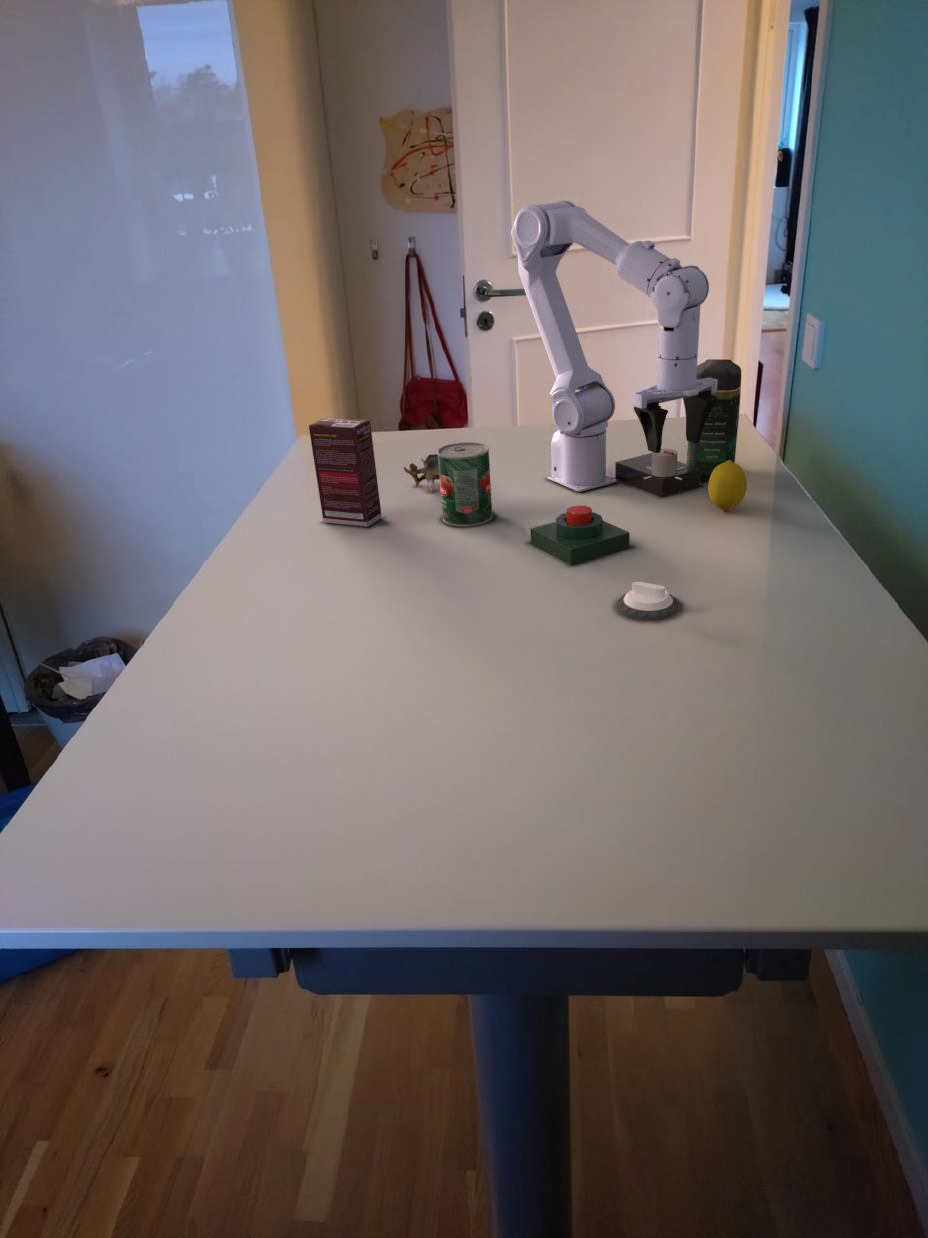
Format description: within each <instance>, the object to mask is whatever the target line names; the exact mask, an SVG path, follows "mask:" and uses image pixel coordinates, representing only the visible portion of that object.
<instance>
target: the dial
mask: <svg viewBox="0 0 928 1238" xmlns="http://www.w3.org/2000/svg"><path fill="white" fill-rule="evenodd" d="M651 453H652V470H651V473H652V475H654V476H657V477H671V476H674V475H676V474H677V461H678V455H679V452H678V450H676V449H674V448H673V449H672V448H661V450H660V452H659V453H654V452H651Z"/></svg>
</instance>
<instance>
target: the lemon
mask: <svg viewBox="0 0 928 1238" xmlns="http://www.w3.org/2000/svg"><path fill="white" fill-rule="evenodd" d="M747 488H748V480H747V475H746V472H745V470H744V469H743V468H742V466H741V465H740V464H738V463H733V462H732V461H731V460H727V461H726V462H725V463H722V464H720V465H718V466H717V467H716V468H715V469H714V470H713V472H712V474H711V476H710V479H709V480H708V485H707V490H708V492H707V493H708V496H709V500H710V501H711V503H712V504H713V505H715V506H716V507H717V508H719V509H720V510H722V511H723V512H725V513H726V512H727V513H728V512H729V511H730V510H731V509H734V508H736V507H738V506H739V505H740V504H741V503H742V502H743V501H744V499H745V497H746V493H747V490H748V489H747Z"/></svg>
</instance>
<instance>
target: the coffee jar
mask: <svg viewBox="0 0 928 1238" xmlns="http://www.w3.org/2000/svg"><path fill="white" fill-rule="evenodd" d="M704 378H713V379H717V380H718V382H717V392H715V393H711V395H715V396H717V403H716V404H715V406H714V407H713V408H712V410H711V412H710V414H709V415H708V417H707V420H706V422H705V425H704V427H703V430H702V433H701V436H700V440H699V443H696V444H695V443H692V442H689V441H687V451H686V453H687V454H686V464H687V465H690V466H693V467H696V468H699V469H701V476H700V480H702V481H709V479H710V476H711V474H712V472H713V470H714V469H715V468H716V467H717V466H718V465H720V464H722V463H725V462H726V461H727V460H731V461H732V462H733V463H735V462H736V451H737V440H738V431H739V430H738V429H739V420H740V409H741V394H742V393H741V392H742V368H741V367H740V365H738V364H737V363H735V362H734V361H732V359H726V358H725V359H723V358H722V359H718V358H717V359H716V358H715V359H714V358H713V359H711V358H710V359H706V360H705V361H703V362H702V363H699V364H697V377H696V379H704Z"/></svg>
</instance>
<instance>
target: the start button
mask: <svg viewBox="0 0 928 1238" xmlns="http://www.w3.org/2000/svg"><path fill="white" fill-rule="evenodd" d="M592 512H593V508H591V507H590V506H588V505H581V504H580V505H579V504H578V505H573V506H568V507H567V508H566V510H565V513H566V522H567V523H569V524H574V525H581V524H587V523H591V522H592Z"/></svg>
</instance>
